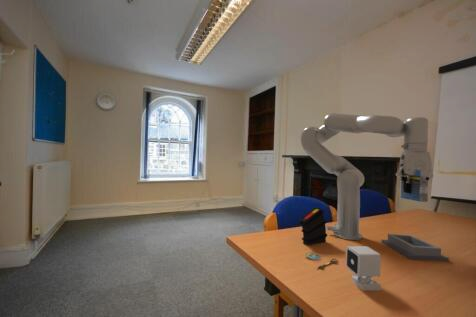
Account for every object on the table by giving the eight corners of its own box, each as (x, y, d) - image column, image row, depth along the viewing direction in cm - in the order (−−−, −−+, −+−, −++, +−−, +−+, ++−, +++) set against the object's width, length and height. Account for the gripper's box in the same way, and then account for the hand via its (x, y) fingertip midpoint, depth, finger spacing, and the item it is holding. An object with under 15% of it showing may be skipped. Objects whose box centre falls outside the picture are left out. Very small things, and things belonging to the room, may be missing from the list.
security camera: (345, 279, 66) (346, 245, 66) (367, 278, 67) (368, 245, 67) (358, 291, 60) (359, 254, 60) (382, 291, 60) (383, 254, 60)
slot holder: (409, 259, 82) (410, 247, 82) (381, 242, 99) (381, 232, 99) (448, 261, 81) (449, 249, 81) (413, 243, 98) (414, 234, 98)
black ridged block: (331, 237, 97) (322, 208, 94) (312, 255, 92) (301, 224, 89) (324, 234, 101) (315, 206, 98) (305, 251, 95) (295, 221, 92)
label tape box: (428, 202, 86) (430, 170, 86) (418, 201, 85) (420, 169, 85) (408, 198, 95) (410, 169, 95) (399, 197, 94) (401, 168, 94)
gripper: (400, 147, 87) (398, 193, 87) (444, 148, 86) (443, 195, 86) (388, 148, 94) (386, 190, 94) (428, 149, 94) (427, 192, 93)
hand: (413, 192), depth 90 cm, fingers closed on label tape box, 4 cm apart
